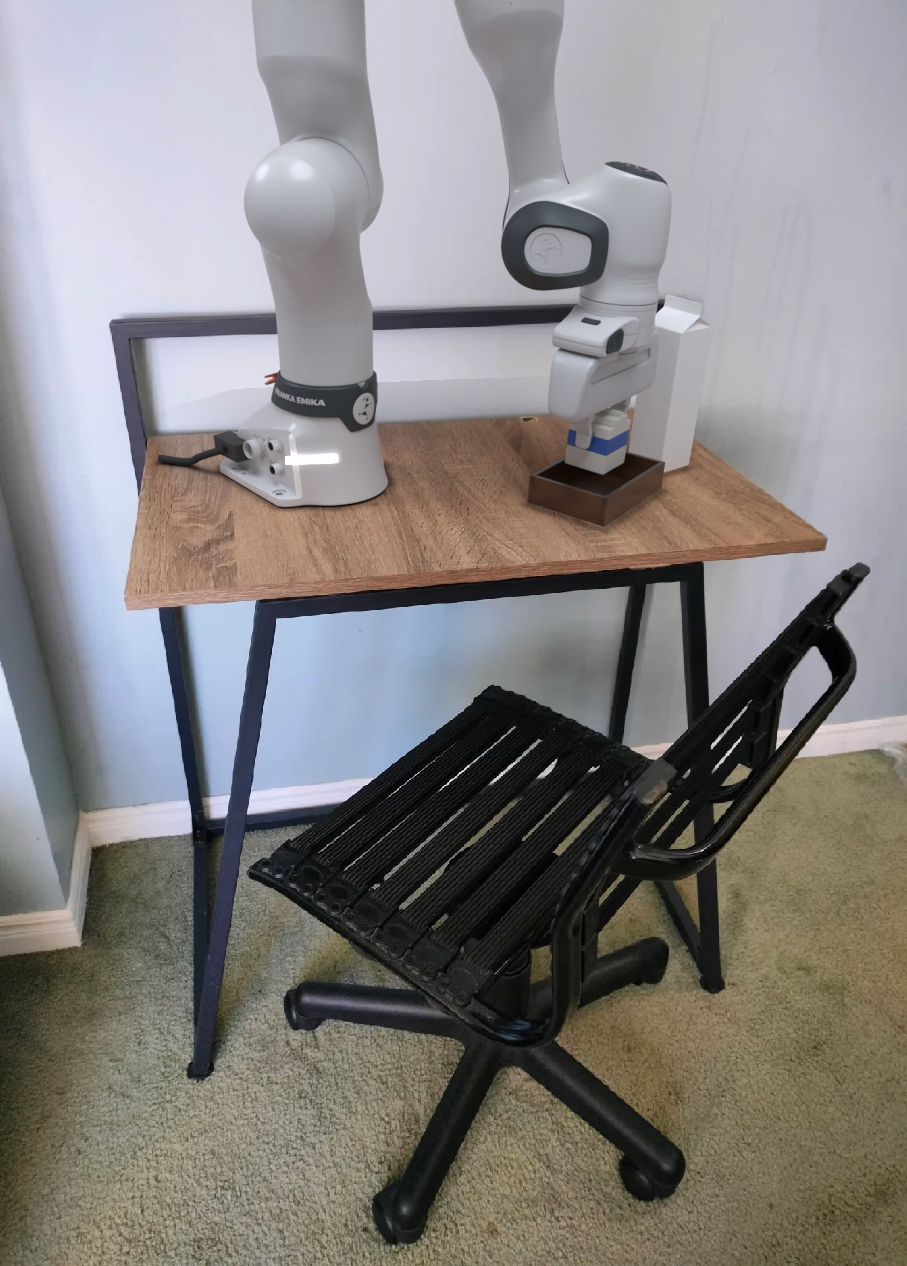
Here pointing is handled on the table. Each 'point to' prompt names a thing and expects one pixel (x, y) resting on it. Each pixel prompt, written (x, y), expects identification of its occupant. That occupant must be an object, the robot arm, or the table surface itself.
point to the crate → (596, 488)
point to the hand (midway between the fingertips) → (597, 439)
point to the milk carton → (601, 443)
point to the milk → (673, 385)
